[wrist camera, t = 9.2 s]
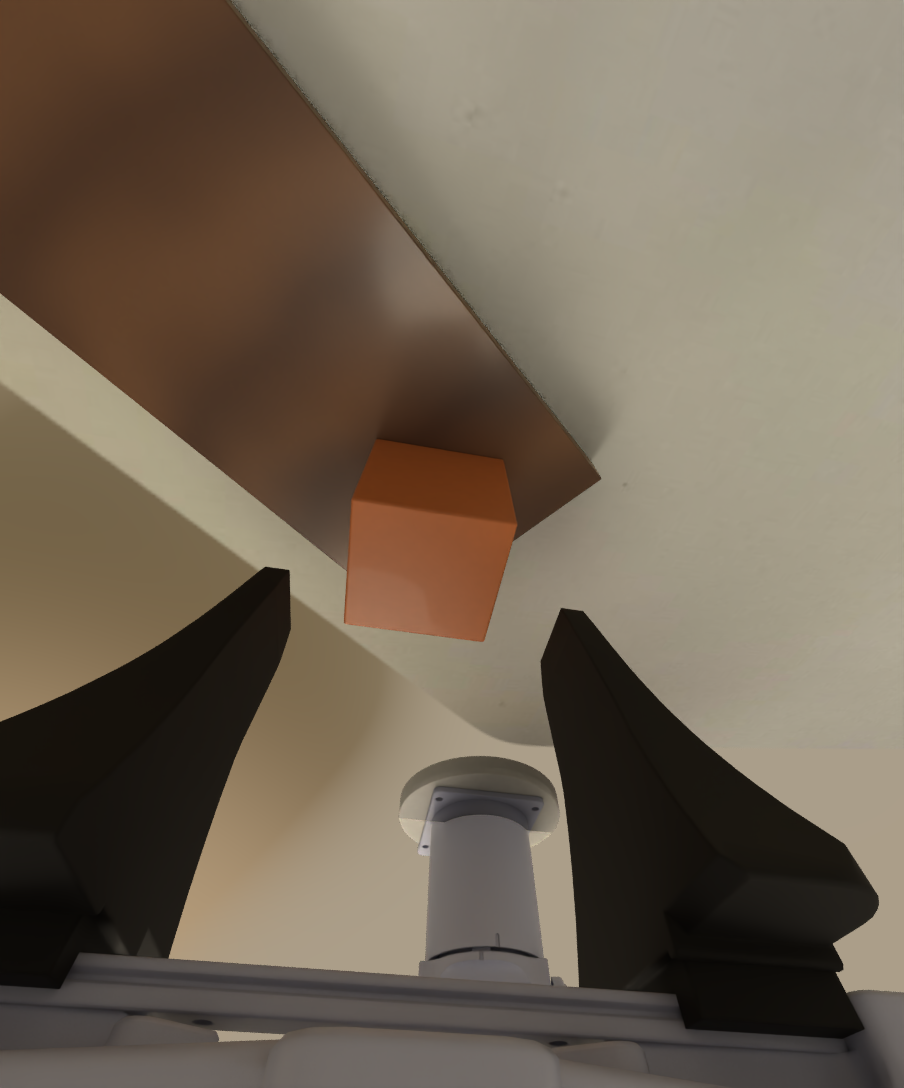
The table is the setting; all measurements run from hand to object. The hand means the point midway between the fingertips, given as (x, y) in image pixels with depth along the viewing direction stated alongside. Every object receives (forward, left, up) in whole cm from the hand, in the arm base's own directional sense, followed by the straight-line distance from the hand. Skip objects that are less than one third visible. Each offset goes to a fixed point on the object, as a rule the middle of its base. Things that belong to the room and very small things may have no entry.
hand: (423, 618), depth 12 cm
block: (0, 0, -6) cm, 6 cm away
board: (+5, +5, -8) cm, 10 cm away
